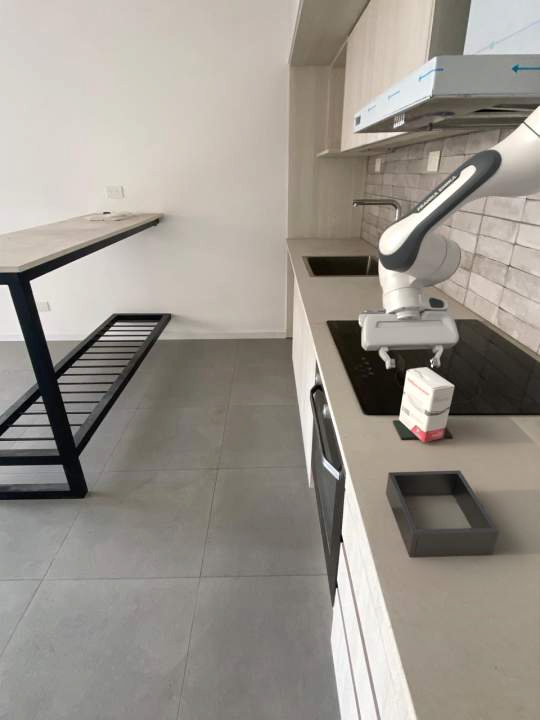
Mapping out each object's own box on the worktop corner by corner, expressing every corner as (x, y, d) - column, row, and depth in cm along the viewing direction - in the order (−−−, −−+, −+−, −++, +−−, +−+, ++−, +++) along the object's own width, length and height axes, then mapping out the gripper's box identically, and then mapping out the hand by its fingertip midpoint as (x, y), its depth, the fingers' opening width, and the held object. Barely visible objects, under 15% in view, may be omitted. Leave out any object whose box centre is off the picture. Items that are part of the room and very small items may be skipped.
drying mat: (440, 421, 83) (440, 418, 83) (452, 438, 77) (452, 436, 77) (392, 422, 83) (392, 420, 83) (401, 440, 77) (401, 437, 77)
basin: (455, 491, 65) (460, 470, 63) (492, 555, 54) (499, 531, 52) (385, 493, 65) (388, 472, 63) (409, 557, 54) (413, 533, 52)
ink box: (445, 438, 77) (456, 384, 71) (423, 443, 75) (432, 389, 70) (418, 414, 84) (426, 364, 79) (397, 419, 83) (404, 368, 78)
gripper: (360, 303, 85) (367, 364, 80) (455, 300, 85) (467, 361, 80) (354, 316, 91) (361, 373, 86) (443, 313, 91) (454, 370, 86)
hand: (413, 367), depth 83 cm, fingers open, 8 cm apart
